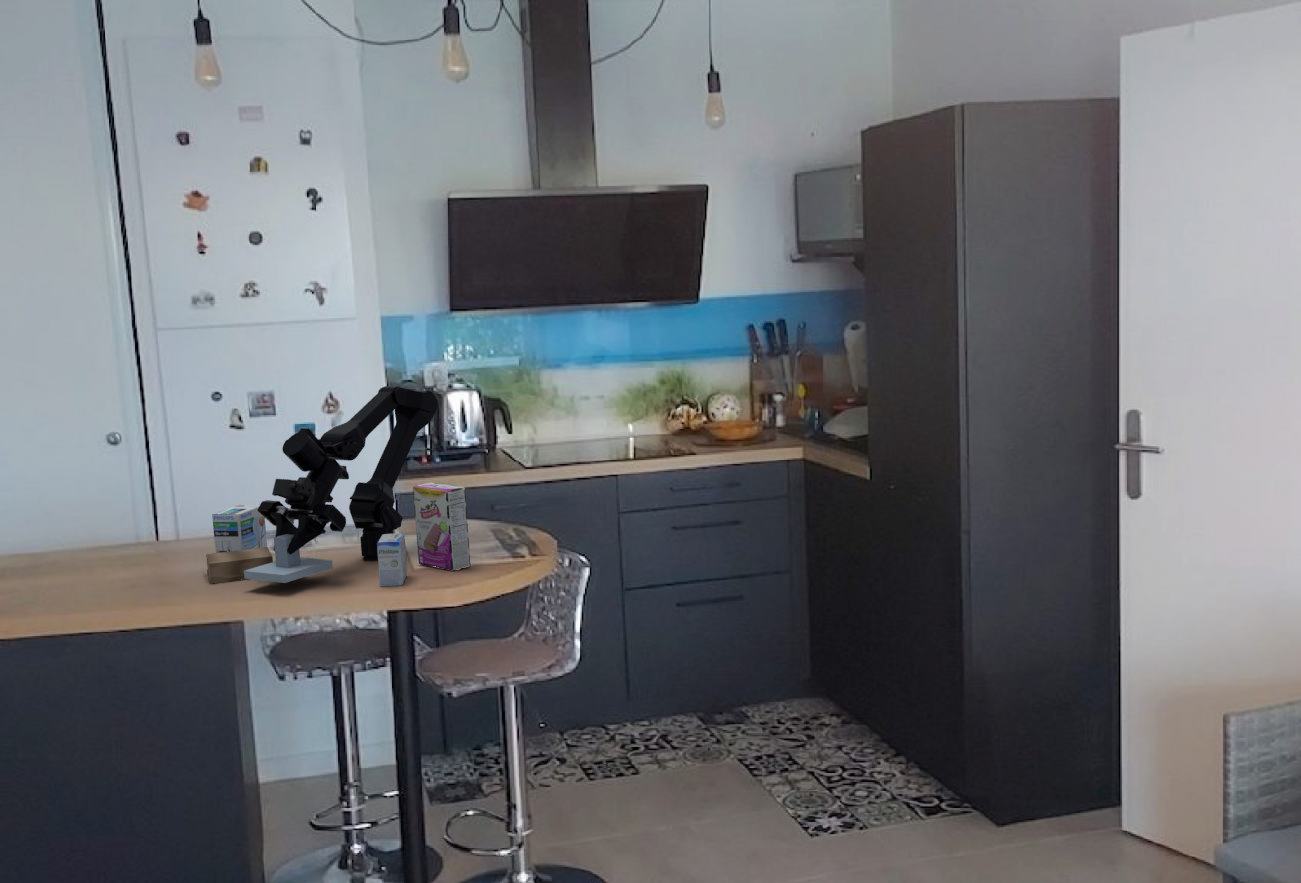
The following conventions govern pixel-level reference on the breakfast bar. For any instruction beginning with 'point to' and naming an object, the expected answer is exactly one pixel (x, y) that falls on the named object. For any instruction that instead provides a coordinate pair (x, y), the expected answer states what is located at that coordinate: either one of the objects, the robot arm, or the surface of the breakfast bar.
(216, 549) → the light bulb box
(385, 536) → the medicine box
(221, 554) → the walnut box
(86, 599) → the breakfast bar surface
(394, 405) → the robot arm
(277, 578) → the lid
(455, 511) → the candy bar box
